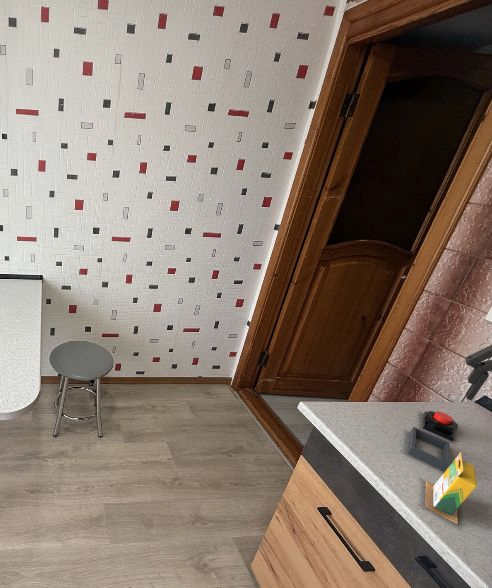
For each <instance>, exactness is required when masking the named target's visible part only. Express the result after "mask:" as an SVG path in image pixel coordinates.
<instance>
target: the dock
mask: <svg viewBox="0 0 492 588" xmlns="http://www.w3.org/2000/svg"><path fill="white" fill-rule="evenodd" d="M417 439H419V440H422V441H423V442H426V443H428V444H430V445H432V446H435V447H437V448H438V449H441V458H439V457H437V456H435V455H433V454H431V453H429V452H426V451H425V450H422V449H420V448H418V447H416V442H417ZM450 443H451V442H449V441H448V440H446V439H444V438H442V437H441V438H440V437H438V436H436V435H435V434H433V433H432V434H431V433H429V432H428V431H426V430H422V429H420V428H418V427H416V426H412V428H411V430H410V432H409V433H408V444H407V445H408V446H407V455H409V456H412V457H413V458H415V459H418V460H420V461H422V462H424V463H426V464H428V465H430V466H433V467H434V468H436V469H438V470H441V471H443V472H445V471H446V470H447V469H448V468H449V466H450V465H451V464H452V460H451V459H452V458H451V444H450Z"/></svg>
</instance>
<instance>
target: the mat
mask: <svg viewBox="0 0 492 588" xmlns="http://www.w3.org/2000/svg"><path fill="white" fill-rule="evenodd" d="M434 485H435V484H433V483H431V482H430V481H428V480H426V481H425V496H424V498H425V501H424V507H425V508H426V509H428V510H430V511H432V512H434V513H436V515H439V516H441V517H443V518H445V519H447V520H449V521H450V522H452V523H453V524H456V525H458V524H459V519H458V517H459V516H458V509H457V510H456V511H455V512H454V513H453V514H452V515H451V516H450V515H448V514H447V513H445V512H443V511H441V510H439V509H437V508H435V507H434V506H433V504H434V503H433V486H434Z"/></svg>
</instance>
